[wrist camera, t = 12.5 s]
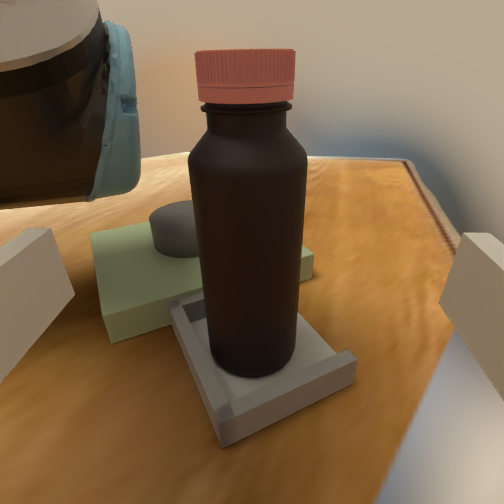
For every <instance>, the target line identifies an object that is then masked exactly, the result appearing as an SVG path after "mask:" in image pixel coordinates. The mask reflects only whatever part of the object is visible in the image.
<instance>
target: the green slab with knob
mask: <svg viewBox="0 0 504 504" xmlns="http://www.w3.org/2000/svg"><path fill="white" fill-rule="evenodd" d="M90 238H91V245H92V252H93V258H94V265H95V272H96V279H97V285H98V292H99V299H100V305H101V312H102V317H103V321H104V324H105V327H106V330H107V333H108V336H109V339H110V342H111V344H113V343H116V342H119V341H122V340H125V339H129V338H132V337H135V336H138V335H141V334H144V333H147V332H150V331H153V330H156V329H159V328H162V327H165V326H168V325H172V328H173V330H174V333H175V335H176V338H177V340H178V342H179V345H180V347H181V350H182V352H183V355H184V357H185V360H186V362H187V364H188V367H189V369H190V372H191V374H192V377H193V379H194V382H195V384H196V387H197V389H198V391H199V394H200V396H201V399H202V401H203V404H204V406H205V409H206V411H207V413H208V416H209V418H210V421H211V423H212V426H213V428H214V431H215V433H216V435H217V438H218V440H219V443H220V445H221V448H222V449H223V448H225V447H227V446H229V445H231V444H233V443H235V442H237V441H239V440H241V439H243V438H245V437H247V436H249V435H251V434H253V433H255V432H257V431H259V430H261V429H263V428H265V427H267V426H269V425H271V424H273V423H275V422H277V421H279V420H281V419H283V418H285V417H287V416H289V415H291V414H293V413H295V412H297V411H299V410H301V409H303V408H305V407H307V406H309V405H311V404H313V403H315V402H317V401H319V400H321V399H323V398H325V397H327V396H329V395H331V394H333V393H335V392H337V391H339V390H341V389H343V388H345V387H347V386H349V385H351V384H353V379H354V374H355V370H356V365H357V360H358V359H357V358H356V357H355V356H354V355H353V354H352V353H351V352H350V351H349V350H348V349H347V350H345V351H342V352H340V353H338V354H337V353H336V352H335V351H334V350H333V349H332V348H331V347H330V346H329V345H328V344H327V343H326V342H325V340H324V339H323V338H322V337H321V336H320V335H319V334H318V333H317V332H316V331H315V330H314V329H313V328H312V327H311V326H310V324H309V323H308V322H307V321H306V320H305V319H304V318H303V317H302V316H301V315H300V314H299V313H297V328H296V343H295V350H294V352H293V354H292V357H291V359H290V361H289V362H288V363H287V364H286V365H285V366H284V367H283V368H282V369H280V370H278V371H276V372H274V373H272V374H270V375H266V376H261V377H256V378H253V377H240V376H237V375H235V374H232V373H229V372H227V371H226V370H224V369H223V368H222V367H220V366H219V365H218V364H217V363H216V361H215V359H214V358H213V356H212V354H211V352H210V345H209V337H208V328H207V320H206V311H205V303H204V294H203V286H202V277H201V269H200V260H199V252H198V244H197V235H196V227H195V218H194V210H193V201H192V200H188V201H180V202H175V203H171V204H168V205H165V206H162V207H160V208H158V209H156V210H155V211H154V212H153V213H152V214H151V215H150V217H149V222H144V223H139V224H134V225H129V226H124V227H119V228H114V229H109V230H104V231H99V232H94V233H90ZM313 260H314V254H313V253H312V252H311V251H309V250H308V249H307V248H305V247H304V246H303V245H302V254H301V269H300V282H303V281H306V280H309V279H312V271H313Z"/></svg>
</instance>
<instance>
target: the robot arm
mask: <svg viewBox="0 0 504 504" xmlns="http://www.w3.org/2000/svg"><path fill="white" fill-rule="evenodd" d="M136 105H137V98H136V82H135V70H134V62H133V53H132V46H131V40H130V37H129V33H128V31H127V30H126V29H125V28H124V27H123V26H120V25H115V24H114V23H113V22H110V21H105V22H104V23H102V19H101V15H100V11H99V7H98V3H97V0H0V210H3V209H13V208H23V207H34V206H44V205H54V204H64V203H74V202H84V201H85V202H91V201H94V200H95V199H97V198H103V197H109V196H114V195H120V194H125V193H127V192H130V191H131V190H132V189H134V188H135V187H136V185H137V184H138V182H139V179H140V175H141V149H140V134H139V119H138V111H137V108H136ZM74 295H75V293H74V290H73V287H72V284H71V282H70V279H69V276H68V274H67V271H66V268H65V265H64V263H63V260H62V257H61V255H60V252H59V249H58V247H57V244H56V241H55V238H54V236H53V233H52V230H51V228H28V229H26V230H25V231H23V232H22V233H20V234H19V235H17V236H16V237H15V238H13V239H12V240H10V241H9V242H7V243H6V244H4V245H3V246H2V247H0V383H1V382H2V381H3V380H4V378H5V377H6V376H7V375H8V374H9V373H10V371H11V370H12V369H13V368H14V367H15V365H16V364H17V363H18V362H19V361H20V359H21V358H22V357H23V356H24V355H25V354H26V352H27V351H28V350H29V349H30V348H31V346H32V345H33V344H34V343H35V342H36V340H37V339H38V338H39V337H40V336H41V335H42V333H43V332H44V331H45V330H46V329H47V327H48V326H49V325H50V324H51V323H52V321H53V320H54V319H55V318H56V317H57V315H58V314H59V313H60V312H61V311H62V310H63V308H64V307H65V306H66V305H67V304H68V302H69V301H70V300H71V299H72V298H73V296H74ZM439 304H440V306H441V307H442V309H443V310H444V312H445V313H446V315H447V316H448V318H449V319H450V321H451V322H452V324H453V325H454V327H455V328H456V330H457V331H458V333H459V334H460V336H461V337H462V339H463V340H464V342H465V343H466V345H467V346H468V348H469V349H470V351H471V352H472V354H473V355H474V357H475V359H476V360H477V362H478V363H479V365H480V366H481V368H482V369H483V371H484V372H485V373H486V375H487V376H488V378H489V380H490V381H491V383H492V384H493V386H494V387H495V389H496V390H497V391H498V393H499V395H500V396H501V398H502V399H503V400H504V245H503V244H502V243H501V242H500V241H498V240H497V239H496V238H495V237H493V236H492V235H491V234H490V233H463V235H462V238H461V241H460V243H459V246H458V249H457V252H456V255H455V258H454V261H453V263H452V266H451V269H450V272H449V275H448V278H447V281H446V283H445V286H444V289H443V292H442V295H441V298H440V301H439Z"/></svg>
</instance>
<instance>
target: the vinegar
mask: <svg viewBox="0 0 504 504" xmlns="http://www.w3.org/2000/svg"><path fill="white" fill-rule="evenodd" d="M195 63H196V75H197V85H198V96H199V100H200V101H202V102H205V104H204V105H203V106H201V110H202V112H206V116H207V131H206V132H205V134H204V135H203V136H202V138H201V139H200V141H199V142H198V143H197V144H196V146H195V147H194V148H193V150H192V151H191V152H190V154H189V157H188V168H189V176H190V184H191V193H192V201H193V210H194V218H195V227H196V235H197V244H198V252H199V260H200V269H201V277H202V286H203V294H204V303H205V311H206V320H207V328H208V337H209V345H210V352H211V354H212V356H213V358H214V359H215V361H216V363H217V364H218V365H219V366H220V367H222V368H223V369H224V370H226V371H227V372H229V373H232V374H235V375H237V376H240V377H253V378H256V377H261V376H266V375H270V374H272V373H274V372H276V371H278V370H280V369H282V368H283V367H284V366H285V365H286V364H287V363H288V362H289V361H290V359H291V357H292V354H293V352H294V350H295V343H296V328H297V313H298V299H299V284H300V269H301V254H302V239H303V225H304V210H305V195H306V180H307V165H308V161H307V155H306V152H305V150H304V148H303V147H302V146H301V145H300V144H299V142H298V141H297V140H296V139H295V138H294V136H293V135H292V134H291V133H290V132H289V130H288V129H287V128H286V111H288V110H290V109H292V104H290V103H288V102H287V100H291V99H293V91H294V75H295V51H294V50H293V49H234V50H208V51H207V50H206V51H197V52H196V53H195Z"/></svg>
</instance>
